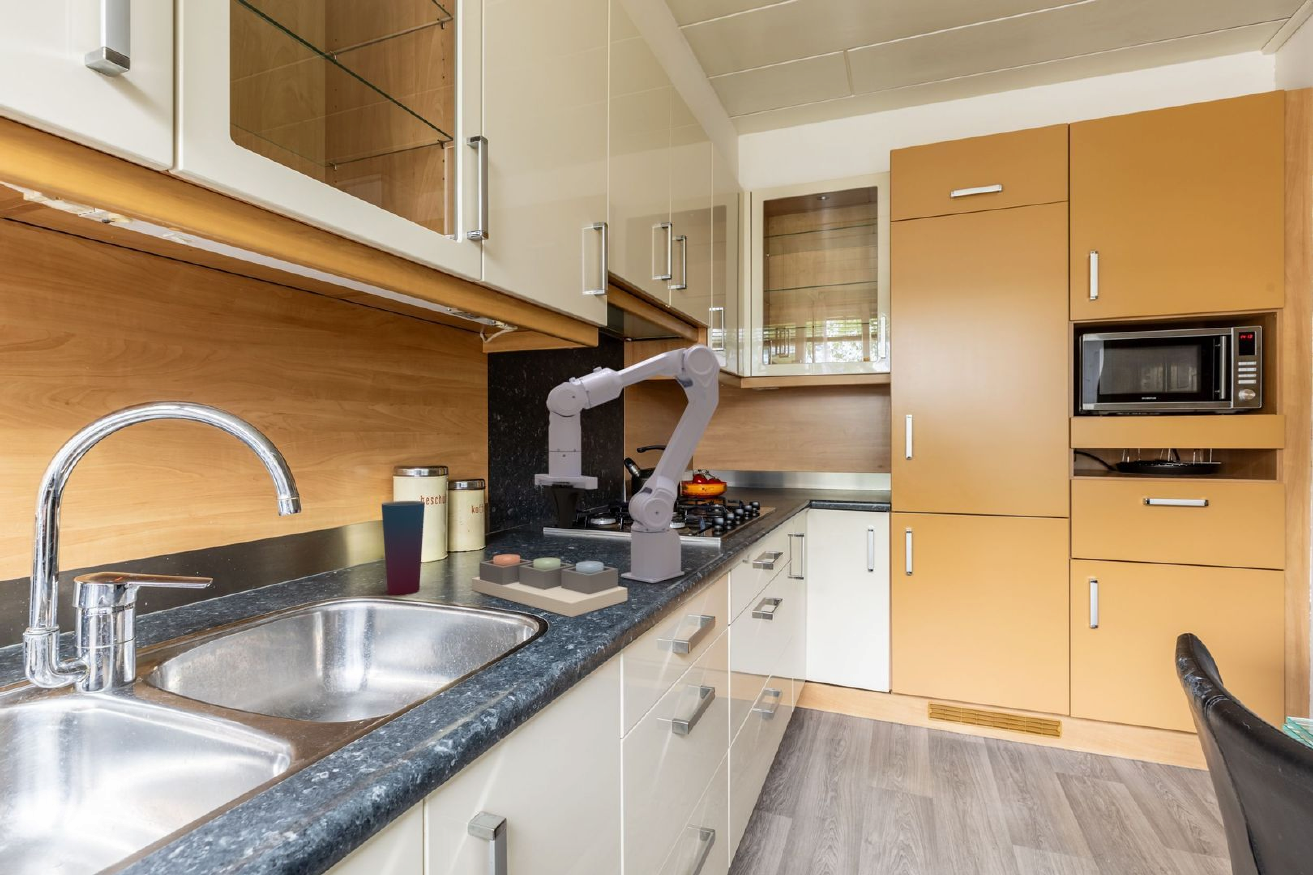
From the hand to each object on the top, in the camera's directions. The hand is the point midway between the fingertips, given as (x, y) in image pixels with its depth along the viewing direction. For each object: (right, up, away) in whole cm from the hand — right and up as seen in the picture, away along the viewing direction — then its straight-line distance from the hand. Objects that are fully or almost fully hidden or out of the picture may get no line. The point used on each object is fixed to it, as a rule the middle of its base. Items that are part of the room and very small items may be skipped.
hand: (565, 527), depth 115 cm
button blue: (+6, -7, -12) cm, 15 cm away
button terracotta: (-9, -7, -6) cm, 13 cm away
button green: (-2, -7, -9) cm, 11 cm away
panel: (-2, -10, -9) cm, 14 cm away
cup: (-26, -10, -6) cm, 29 cm away
